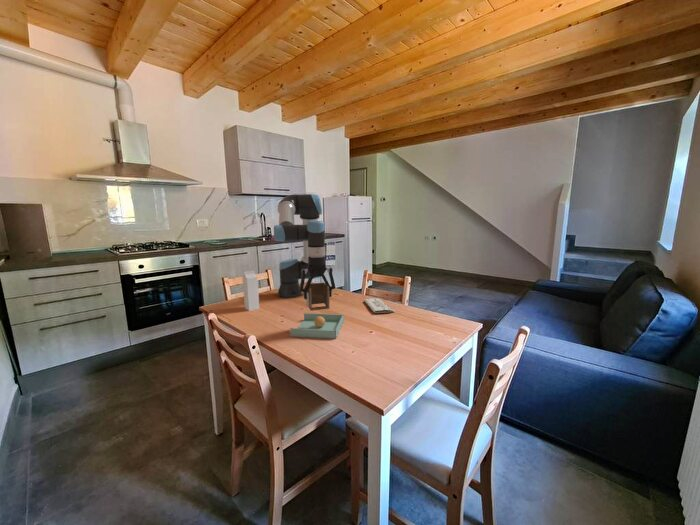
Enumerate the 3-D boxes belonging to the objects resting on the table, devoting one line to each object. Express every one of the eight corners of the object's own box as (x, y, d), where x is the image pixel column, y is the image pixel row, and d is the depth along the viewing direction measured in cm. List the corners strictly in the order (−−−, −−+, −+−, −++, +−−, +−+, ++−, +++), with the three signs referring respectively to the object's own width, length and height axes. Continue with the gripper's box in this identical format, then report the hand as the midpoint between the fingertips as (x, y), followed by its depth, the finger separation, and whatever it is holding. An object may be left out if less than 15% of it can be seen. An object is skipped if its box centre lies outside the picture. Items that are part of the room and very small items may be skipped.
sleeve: (307, 304, 133) (306, 284, 131) (324, 302, 136) (324, 282, 134) (310, 310, 125) (310, 288, 123) (329, 308, 128) (329, 287, 126)
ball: (320, 314, 136) (328, 318, 134) (316, 323, 136) (324, 328, 134) (314, 314, 131) (323, 319, 129) (310, 324, 131) (319, 329, 129)
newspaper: (395, 313, 151) (396, 309, 151) (373, 315, 149) (373, 310, 149) (382, 301, 173) (382, 297, 173) (363, 302, 171) (363, 298, 171)
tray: (304, 319, 143) (304, 313, 142) (343, 321, 140) (343, 314, 139) (290, 336, 123) (290, 328, 122) (336, 338, 120) (335, 331, 120)
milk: (259, 309, 159) (257, 271, 155) (249, 312, 155) (246, 272, 151) (254, 307, 163) (252, 269, 160) (244, 309, 159) (241, 270, 156)
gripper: (292, 258, 119) (295, 310, 123) (342, 256, 125) (342, 305, 129) (291, 256, 126) (293, 304, 131) (338, 253, 132) (339, 300, 136)
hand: (318, 304), depth 130 cm, fingers closed on sleeve, 9 cm apart
